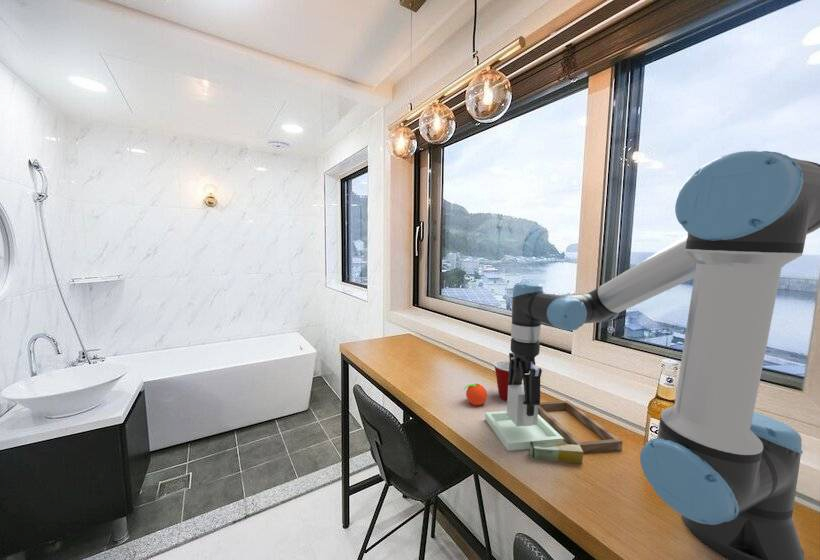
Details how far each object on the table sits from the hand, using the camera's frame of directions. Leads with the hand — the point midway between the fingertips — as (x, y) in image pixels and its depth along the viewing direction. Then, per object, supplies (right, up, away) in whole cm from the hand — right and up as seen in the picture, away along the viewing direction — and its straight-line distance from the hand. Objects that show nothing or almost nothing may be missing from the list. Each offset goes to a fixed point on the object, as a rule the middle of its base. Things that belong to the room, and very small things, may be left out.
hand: (521, 418), depth 89 cm
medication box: (+5, -6, -11) cm, 13 cm away
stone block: (0, 0, 0) cm, 0 cm away
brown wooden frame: (+16, -4, +4) cm, 17 cm away
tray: (0, -5, 0) cm, 5 cm away
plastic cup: (+3, -3, +23) cm, 23 cm away
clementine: (-10, -3, +18) cm, 21 cm away
